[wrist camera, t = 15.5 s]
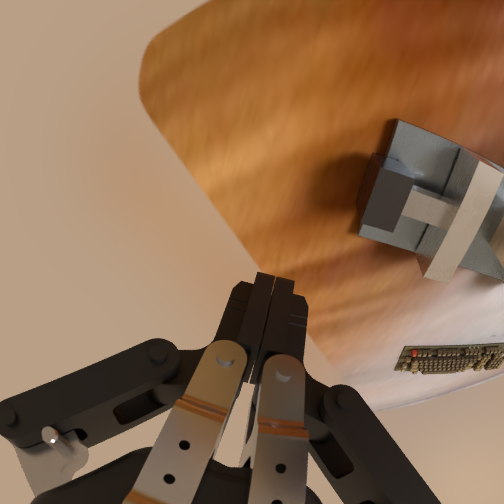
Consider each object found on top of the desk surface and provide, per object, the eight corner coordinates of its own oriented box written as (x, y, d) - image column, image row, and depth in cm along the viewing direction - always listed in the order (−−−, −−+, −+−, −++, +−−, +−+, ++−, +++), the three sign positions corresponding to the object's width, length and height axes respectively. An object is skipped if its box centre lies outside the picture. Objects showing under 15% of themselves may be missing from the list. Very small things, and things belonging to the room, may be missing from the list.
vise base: (396, 118, 23) (411, 130, 19) (562, 205, 21) (583, 227, 17) (357, 230, 30) (362, 259, 26) (519, 282, 29) (533, 308, 25)
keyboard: (391, 368, 43) (392, 379, 41) (408, 331, 38) (410, 343, 36) (497, 364, 38) (500, 373, 37) (521, 329, 33) (525, 339, 32)
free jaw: (383, 115, 22) (394, 124, 19) (485, 159, 21) (505, 174, 18) (344, 233, 29) (346, 257, 26) (437, 260, 29) (447, 284, 25)
